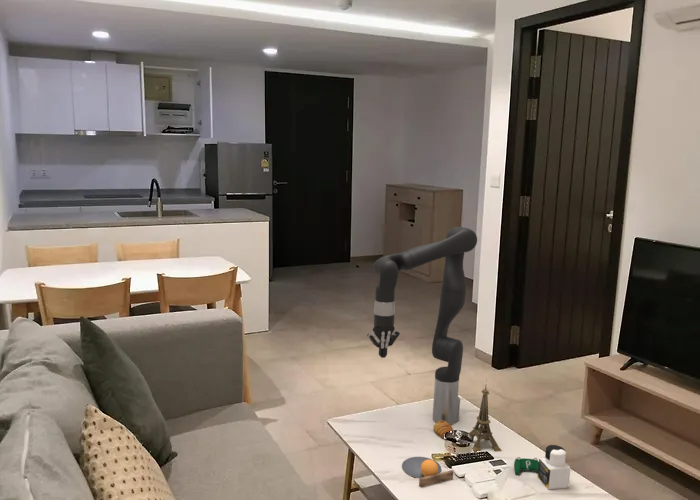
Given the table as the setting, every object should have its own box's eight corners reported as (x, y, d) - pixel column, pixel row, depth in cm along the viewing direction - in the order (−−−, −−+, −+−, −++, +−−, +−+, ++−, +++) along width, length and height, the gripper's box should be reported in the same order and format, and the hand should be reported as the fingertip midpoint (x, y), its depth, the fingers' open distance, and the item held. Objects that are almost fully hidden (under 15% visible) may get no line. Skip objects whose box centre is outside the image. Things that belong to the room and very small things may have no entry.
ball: (430, 458, 194) (438, 457, 190) (435, 476, 193) (443, 475, 188) (415, 462, 192) (423, 461, 187) (420, 480, 190) (427, 479, 186)
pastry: (458, 440, 215) (458, 430, 214) (440, 442, 213) (441, 432, 212) (448, 428, 224) (448, 418, 223) (431, 429, 222) (431, 420, 221)
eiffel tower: (501, 451, 208) (507, 384, 203) (473, 453, 205) (478, 386, 201) (489, 436, 218) (493, 372, 213) (462, 438, 216) (466, 374, 211)
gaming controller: (541, 478, 195) (539, 459, 198) (544, 475, 192) (542, 456, 195) (513, 477, 195) (511, 458, 198) (515, 474, 192) (513, 455, 195)
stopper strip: (451, 477, 190) (451, 470, 190) (452, 478, 190) (453, 471, 189) (419, 485, 186) (419, 478, 185) (420, 487, 185) (421, 479, 184)
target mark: (427, 454, 204) (428, 453, 204) (449, 473, 192) (449, 473, 192) (394, 461, 199) (394, 461, 199) (414, 482, 187) (414, 481, 187)
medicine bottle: (536, 477, 192) (540, 443, 190) (557, 475, 193) (560, 441, 191) (547, 489, 185) (551, 454, 183) (568, 488, 186) (572, 453, 184)
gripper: (395, 307, 222) (393, 351, 226) (363, 311, 217) (362, 355, 220) (405, 313, 216) (403, 358, 219) (372, 316, 210) (371, 362, 214)
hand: (382, 356), depth 220 cm, fingers closed
